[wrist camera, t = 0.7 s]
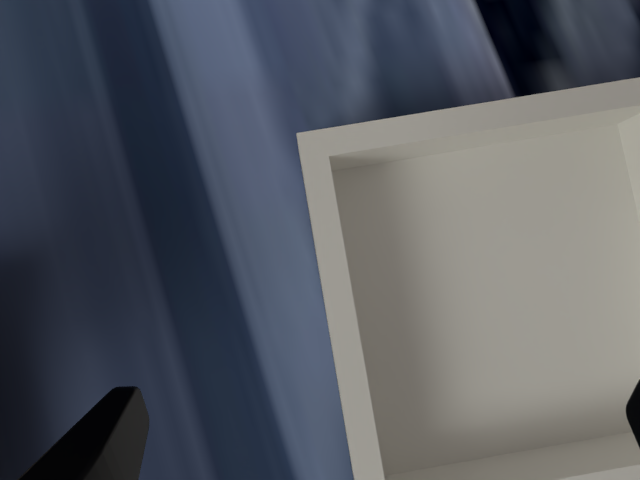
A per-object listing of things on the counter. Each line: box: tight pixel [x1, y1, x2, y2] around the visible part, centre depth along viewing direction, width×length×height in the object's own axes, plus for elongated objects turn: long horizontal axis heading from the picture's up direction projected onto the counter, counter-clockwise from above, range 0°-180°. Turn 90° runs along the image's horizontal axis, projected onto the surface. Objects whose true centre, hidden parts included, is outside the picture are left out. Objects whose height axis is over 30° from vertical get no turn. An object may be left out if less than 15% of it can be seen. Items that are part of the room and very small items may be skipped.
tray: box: [296, 77, 640, 480], centre depth 21 cm, size 17×17×4 cm
